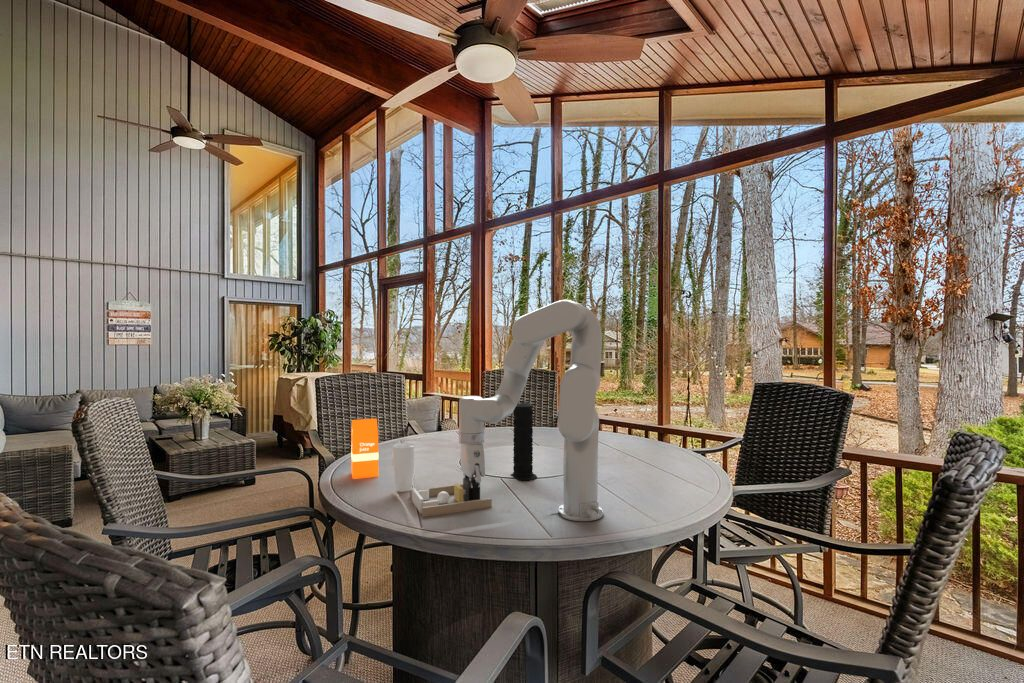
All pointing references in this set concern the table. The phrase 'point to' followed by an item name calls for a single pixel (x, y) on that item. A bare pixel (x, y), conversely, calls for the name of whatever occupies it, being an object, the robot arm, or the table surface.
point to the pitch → (452, 506)
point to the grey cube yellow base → (462, 490)
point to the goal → (420, 496)
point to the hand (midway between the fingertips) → (471, 497)
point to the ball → (443, 497)
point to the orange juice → (364, 448)
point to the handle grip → (523, 443)
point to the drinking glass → (403, 466)
